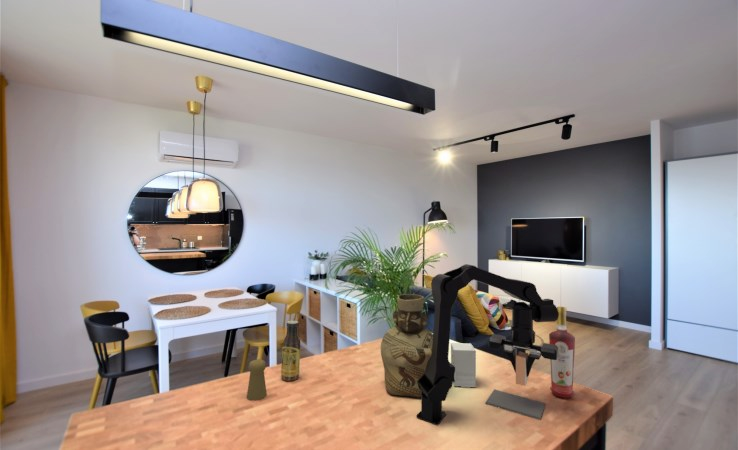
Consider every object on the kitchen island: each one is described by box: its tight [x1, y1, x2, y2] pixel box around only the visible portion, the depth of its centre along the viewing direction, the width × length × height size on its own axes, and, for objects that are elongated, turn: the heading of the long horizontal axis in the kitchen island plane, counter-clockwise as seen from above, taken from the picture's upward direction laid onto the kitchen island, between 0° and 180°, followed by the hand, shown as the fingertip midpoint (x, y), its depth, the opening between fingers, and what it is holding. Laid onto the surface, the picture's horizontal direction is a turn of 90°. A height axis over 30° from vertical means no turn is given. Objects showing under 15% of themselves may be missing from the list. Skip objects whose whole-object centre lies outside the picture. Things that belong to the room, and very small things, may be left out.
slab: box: [515, 351, 530, 387], centre depth 102 cm, size 5×3×8 cm, turn 145°
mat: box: [485, 388, 546, 420], centre depth 103 cm, size 10×15×1 cm, turn 55°
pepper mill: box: [246, 358, 268, 402], centre depth 107 cm, size 6×6×11 cm
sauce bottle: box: [280, 320, 301, 382], centre depth 120 cm, size 6×6×20 cm
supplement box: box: [450, 342, 477, 388], centre depth 117 cm, size 7×7×13 cm
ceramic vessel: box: [380, 293, 433, 398], centre depth 114 cm, size 19×21×30 cm
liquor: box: [548, 306, 576, 399], centre depth 109 cm, size 7×7×28 cm
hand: (522, 375), depth 102 cm, fingers closed on slab, 3 cm apart
